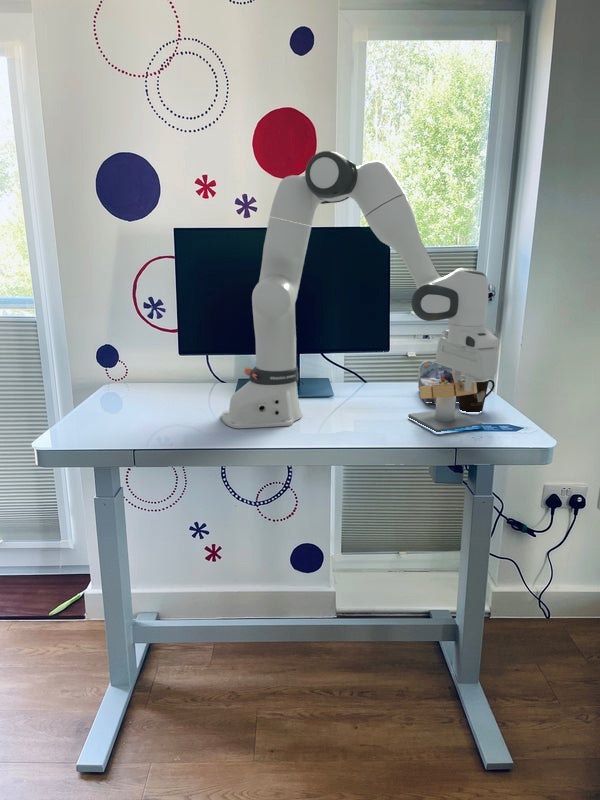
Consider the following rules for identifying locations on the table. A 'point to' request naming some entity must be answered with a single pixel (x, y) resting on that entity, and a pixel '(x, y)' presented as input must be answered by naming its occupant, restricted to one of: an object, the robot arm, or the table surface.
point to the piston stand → (444, 416)
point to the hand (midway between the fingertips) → (462, 388)
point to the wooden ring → (446, 390)
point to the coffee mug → (475, 396)
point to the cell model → (434, 376)
